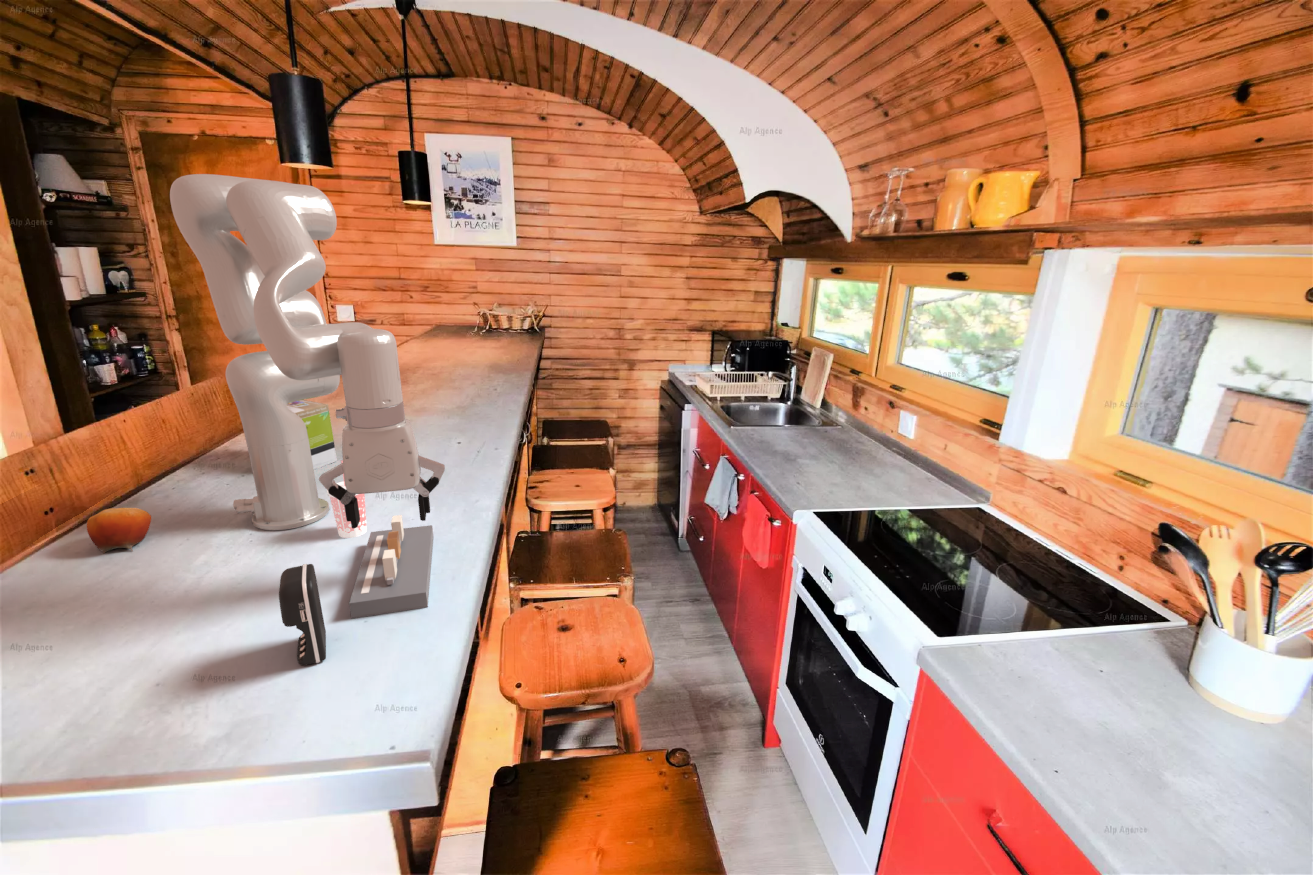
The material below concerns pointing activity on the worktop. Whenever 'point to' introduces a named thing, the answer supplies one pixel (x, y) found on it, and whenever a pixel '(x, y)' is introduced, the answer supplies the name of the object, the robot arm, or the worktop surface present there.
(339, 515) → the beverage cup
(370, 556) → the switch panel
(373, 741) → the worktop surface
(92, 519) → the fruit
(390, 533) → the switch paddles
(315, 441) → the tea box
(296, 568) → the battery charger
